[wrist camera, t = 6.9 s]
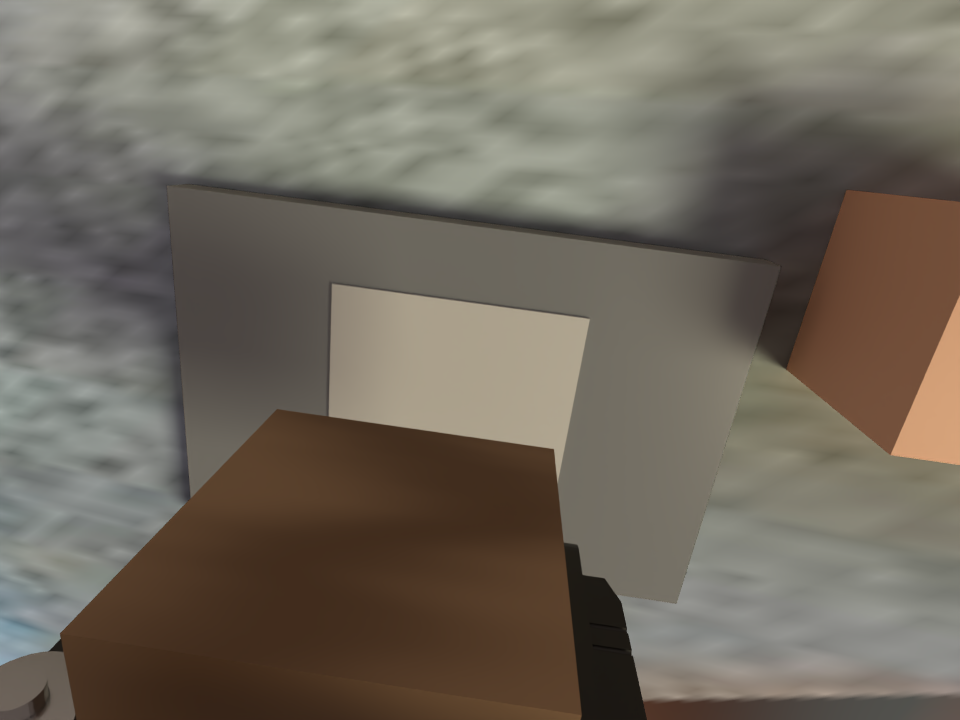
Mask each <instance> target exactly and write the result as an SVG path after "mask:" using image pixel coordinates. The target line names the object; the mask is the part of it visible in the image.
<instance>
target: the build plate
mask: <svg viewBox="0 0 960 720" xmlns="http://www.w3.org/2000/svg"><path fill="white" fill-rule="evenodd" d="M167 198H168V211H169V224H170V237H171V250H172V263H173V276H174V289H175V302H176V315H177V328H178V341H179V354H180V367H181V380H182V393H183V406H184V419H185V432H186V445H187V458H188V471H189V484H190V497H191V498H192V496H193V495H194V494H195V493H196V492H197V491H198V490H199V489H200V488H201V487H202V486H203V485H204V484H205V483H206V482H207V481H208V480H209V479H210V478H211V477H212V476H213V475H214V474H215V473H216V472H217V471H218V470H219V469H220V468H221V466H222V465H223V464H224V463H225V462H226V461H227V460H228V459H229V458H230V457H231V456H232V455H233V454H234V453H235V452H236V451H237V450H238V449H239V448H240V447H241V446H242V445H243V444H244V443H245V442H246V441H247V440H248V439H249V437H250V436H251V435H252V434H253V433H254V432H255V431H256V430H257V429H258V428H259V427H260V426H261V425H262V424H263V423H264V422H265V421H266V420H267V419H268V418H269V417H270V416H271V415H272V414H273V413H274V412H275V411H276V410H277V409H280V410H287V411H294V412H301V413H308V414H315V415H322V416H329V417H336V418H343V419H350V420H356V421H363V422H370V423H377V424H384V425H391V426H398V427H405V428H412V429H419V430H426V431H433V432H440V433H447V434H453V435H460V436H467V437H474V438H481V439H488V440H495V441H502V442H509V443H516V444H523V445H530V446H537V447H544V448H550V449H554V454H555V464H556V473H557V483H558V492H559V502H560V512H561V521H562V531H563V540H564V543H571V544H577V545H578V548H579V553H580V560H581V567H582V574H583V575H586V576H593V577H600V578H605V579H606V581H607V582H608V584H609V585H610V587H611V588H612V590H613V591H614V592H615V594H616V595H623V596H629V597H636V598H642V599H649V600H656V601H662V602H669V603H675V604H676V603H677V600H678V597H679V594H680V590H681V587H682V584H683V581H684V577H685V574H686V571H687V568H688V565H689V561H690V558H691V555H692V552H693V549H694V545H695V542H696V539H697V536H698V533H699V529H700V526H701V523H702V520H703V517H704V513H705V510H706V507H707V504H708V501H709V497H710V494H711V491H712V488H713V484H714V481H715V478H716V475H717V472H718V468H719V465H720V462H721V459H722V456H723V452H724V449H725V446H726V443H727V440H728V436H729V433H730V430H731V427H732V424H733V420H734V417H735V414H736V411H737V408H738V404H739V401H740V398H741V395H742V391H743V388H744V385H745V382H746V379H747V375H748V372H749V369H750V366H751V363H752V359H753V356H754V353H755V350H756V347H757V343H758V340H759V337H760V334H761V331H762V327H763V324H764V321H765V318H766V315H767V311H768V308H769V305H770V302H771V298H772V295H773V292H774V289H775V286H776V282H777V279H778V276H779V273H780V270H781V266H779V265H777V264H775V263H772V262H770V261H768V260H765V259H757V258H750V257H742V256H734V255H727V254H719V253H711V252H704V251H696V250H688V249H681V248H673V247H666V246H658V245H650V244H643V243H635V242H627V241H620V240H612V239H605V238H597V237H589V236H582V235H574V234H566V233H559V232H551V231H544V230H536V229H528V228H521V227H513V226H505V225H498V224H490V223H482V222H475V221H467V220H460V219H452V218H444V217H437V216H429V215H421V214H414V213H406V212H399V211H391V210H383V209H376V208H368V207H360V206H353V205H345V204H338V203H330V202H322V201H315V200H307V199H299V198H292V197H284V196H276V195H269V194H261V193H254V192H246V191H238V190H231V189H223V188H215V187H208V186H200V185H193V184H182V185H170V186H167Z"/></svg>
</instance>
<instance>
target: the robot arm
mask: <svg viewBox="0 0 960 720" xmlns="http://www.w3.org/2000/svg"><path fill="white" fill-rule="evenodd" d="M564 550H565V560H566V569H567V579H568V588H569V598H570V608H571V617H572V627H573V636H574V646H575V656H576V665H577V675H578V684H579V694H580V704H581V713H582V716H581V720H647V718H646V714H645V709H644V704H643V700H642V695H641V691H640V686H639V682H638V677H637V672H636V668H635V663H634V659H633V656H632V655H631V651H632V649H631V645H630V640H629V636H628V633H627V627H626V622H625V617H624V613H623V608H622V604H621V601H620V600H619V598H618V597H617V595H616V594H615V592H614V591H613V590H612V588H611V587H610V585H609V584H608V582H607V581H606V579H605V578H600V577H593V576H586V575H583V574H582V567H581V560H580V553H579V548H578V545H577V544H571V543H564ZM0 720H76V715H75V709H74V704H73V699H72V694H71V689H70V683H69V678H68V673H67V668H66V662H65V657H64V652H63V647H62V641H61V639H60V640H59V641H58V642H57V643H56V644H55V646H54V647H53V648H52V649H51V650H50V651H48V652H40V653H35V654H30V655H27V656H23V657H20V658H18V659H15V660H12V661H10V662H8V663H5V664H3V665H1V666H0Z"/></svg>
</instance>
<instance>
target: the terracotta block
mask: <svg viewBox="0 0 960 720" xmlns="http://www.w3.org/2000/svg"><path fill="white" fill-rule="evenodd" d="M786 370H788V371H789V372H790V373H791V374H793V375H794V376H795V377H796V378H797V379H799V380H800V381H801V382H802V383H803V384H805V385H806V386H807V387H808V388H810V389H811V390H812V391H813V392H814V393H816V394H817V395H818V396H819V397H821V398H822V399H823V400H824V401H825V402H827V403H828V404H829V405H830V406H831V407H833V408H834V409H835V410H836V411H838V412H839V413H840V414H841V415H842V416H844V417H845V418H846V419H847V420H848V421H850V422H851V423H852V424H853V425H855V426H856V427H857V428H858V429H859V430H861V431H862V432H863V433H864V434H865V435H867V436H868V437H869V438H870V439H872V440H873V441H874V442H875V443H876V444H878V445H879V446H880V447H881V448H883V449H884V450H885V451H886V452H887V453H889V454H890V455H894V456H901V457H908V458H915V459H922V460H929V461H936V462H943V463H950V464H957V465H960V202H956V201H947V200H938V199H928V198H919V197H910V196H900V195H891V194H881V193H872V192H863V191H853V190H846V193H845V196H844V199H843V202H842V205H841V208H840V211H839V214H838V217H837V220H836V223H835V226H834V229H833V232H832V235H831V238H830V241H829V244H828V247H827V250H826V253H825V256H824V259H823V262H822V265H821V267H820V270H819V273H818V276H817V279H816V282H815V285H814V288H813V291H812V294H811V297H810V300H809V303H808V306H807V309H806V312H805V315H804V318H803V321H802V324H801V327H800V330H799V333H798V336H797V339H796V342H795V345H794V348H793V351H792V354H791V357H790V360H789V363H788V365H787V368H786Z"/></svg>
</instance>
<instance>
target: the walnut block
mask: <svg viewBox="0 0 960 720" xmlns="http://www.w3.org/2000/svg"><path fill="white" fill-rule="evenodd" d="M60 636H61V641H62V647H63V652H64V657H65V662H66V668H67V673H68V678H69V683H70V689H71V694H72V699H73V704H74V709H75V715H76V720H581V716H582V713H581V704H580V694H579V684H578V675H577V665H576V656H575V646H574V636H573V627H572V617H571V608H570V598H569V588H568V579H567V569H566V560H565V550H564V540H563V531H562V521H561V512H560V502H559V492H558V483H557V473H556V464H555V454H554V449H550V448H544V447H537V446H530V445H523V444H516V443H509V442H502V441H495V440H488V439H481V438H474V437H467V436H460V435H453V434H447V433H440V432H433V431H426V430H419V429H412V428H405V427H398V426H391V425H384V424H377V423H370V422H363V421H356V420H350V419H343V418H336V417H329V416H322V415H315V414H308V413H301V412H294V411H287V410H280V409H277V410H276V411H275V412H274V413H273V414H272V415H271V416H270V417H269V418H268V419H267V420H266V421H265V422H264V423H263V424H262V425H261V426H260V427H259V428H258V429H257V430H256V431H255V432H254V433H253V434H252V435H251V436H250V437H249V439H248V440H247V441H246V442H245V443H244V444H243V445H242V446H241V447H240V448H239V449H238V450H237V451H236V452H235V453H234V454H233V455H232V456H231V457H230V458H229V459H228V460H227V461H226V462H225V463H224V464H223V465H222V466H221V468H220V469H219V470H218V471H217V472H216V473H215V474H214V475H213V476H212V477H211V478H210V479H209V480H208V481H207V482H206V483H205V484H204V485H203V486H202V487H201V488H200V489H199V490H198V491H197V492H196V493H195V494H194V495H193V496H192V498H191V499H190V500H189V501H188V502H187V503H186V504H185V505H184V506H183V507H182V508H181V509H180V510H179V511H178V512H177V513H176V514H175V515H174V516H173V517H172V518H171V519H170V520H169V521H168V522H167V523H166V524H165V525H164V526H163V528H162V529H161V530H160V531H159V532H158V533H157V534H156V535H155V536H154V537H153V538H152V539H151V540H150V541H149V542H148V543H147V544H146V545H145V546H144V547H143V548H142V549H141V550H140V551H139V552H138V553H137V554H136V555H135V557H134V558H133V559H132V560H131V561H130V562H129V563H128V564H127V565H126V566H125V567H124V568H123V569H122V570H121V571H120V572H119V573H118V574H117V575H116V576H115V577H114V578H113V579H112V580H111V581H110V582H109V583H108V584H107V585H106V587H105V588H104V589H103V590H102V591H101V592H100V593H99V594H98V595H97V596H96V597H95V598H94V599H93V600H92V601H91V602H90V603H89V604H88V605H87V606H86V607H85V608H84V609H83V610H82V611H81V612H80V613H79V614H78V615H77V617H76V618H75V619H74V620H73V621H72V622H71V623H70V624H69V625H68V626H67V627H66V628H65V629H64V630H63V631H62V632H61V633H60Z"/></svg>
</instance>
